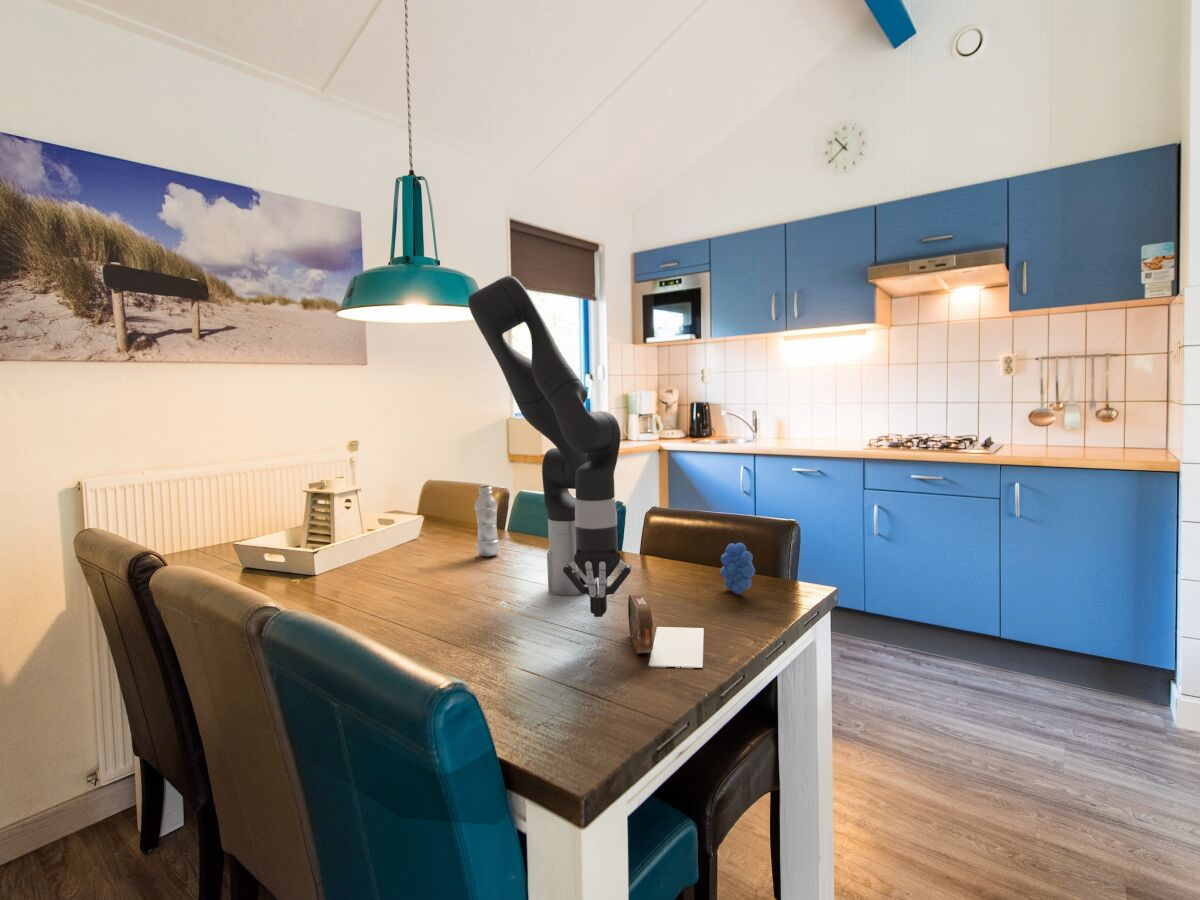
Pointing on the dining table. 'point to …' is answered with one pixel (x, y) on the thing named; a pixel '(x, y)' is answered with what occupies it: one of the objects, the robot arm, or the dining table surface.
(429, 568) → the dining table surface
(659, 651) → the mat
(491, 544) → the plastic bottle
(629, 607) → the tin
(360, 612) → the dining table surface
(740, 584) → the grapes
